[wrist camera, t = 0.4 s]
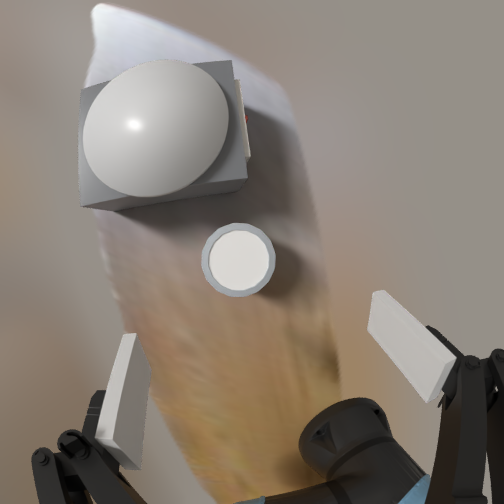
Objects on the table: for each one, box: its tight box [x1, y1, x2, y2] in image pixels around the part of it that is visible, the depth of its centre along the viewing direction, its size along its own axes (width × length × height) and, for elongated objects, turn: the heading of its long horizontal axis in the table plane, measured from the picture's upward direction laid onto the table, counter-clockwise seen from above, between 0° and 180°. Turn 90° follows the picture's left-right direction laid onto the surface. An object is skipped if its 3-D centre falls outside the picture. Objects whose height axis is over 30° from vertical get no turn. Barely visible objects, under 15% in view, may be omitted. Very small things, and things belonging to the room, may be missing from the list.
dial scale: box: [78, 60, 251, 211], centre depth 25 cm, size 13×16×10 cm
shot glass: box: [202, 223, 276, 297], centre depth 29 cm, size 7×7×7 cm
